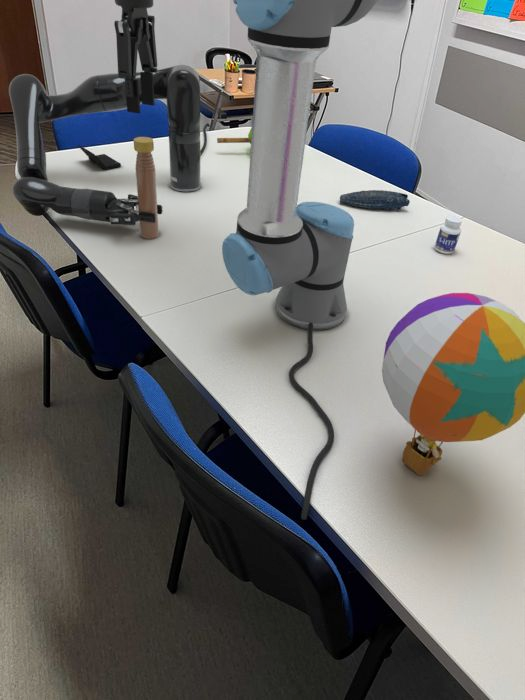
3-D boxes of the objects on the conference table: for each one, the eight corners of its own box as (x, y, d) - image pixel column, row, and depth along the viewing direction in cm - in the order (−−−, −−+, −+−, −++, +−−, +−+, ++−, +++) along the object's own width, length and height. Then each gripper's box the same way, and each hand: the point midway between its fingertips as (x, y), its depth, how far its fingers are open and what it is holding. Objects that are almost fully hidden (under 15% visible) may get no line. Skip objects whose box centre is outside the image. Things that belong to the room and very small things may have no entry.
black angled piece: (125, 159, 170) (105, 137, 162) (114, 177, 169) (93, 156, 161) (104, 155, 177) (83, 134, 168) (93, 172, 175) (71, 152, 167)
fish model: (408, 214, 157) (412, 198, 153) (339, 207, 158) (341, 191, 154) (406, 206, 162) (410, 190, 159) (339, 199, 163) (341, 183, 160)
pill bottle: (433, 251, 139) (442, 220, 133) (435, 243, 143) (444, 213, 137) (453, 256, 138) (464, 225, 132) (454, 247, 142) (465, 217, 136)
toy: (329, 455, 81) (367, 293, 62) (405, 402, 92) (457, 251, 73) (434, 545, 70) (518, 382, 52) (506, 474, 81) (598, 317, 62)
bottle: (155, 229, 137) (149, 137, 123) (161, 237, 134) (156, 143, 119) (138, 232, 135) (130, 139, 121) (144, 240, 132) (136, 145, 118)
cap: (150, 145, 124) (149, 135, 122) (156, 151, 121) (156, 141, 119) (131, 147, 122) (130, 137, 120) (137, 153, 119) (137, 143, 117)
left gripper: (106, 207, 140) (167, 216, 139) (84, 230, 129) (150, 240, 127) (103, 180, 135) (166, 189, 134) (79, 201, 124) (148, 211, 123)
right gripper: (127, -13, 93) (137, 121, 107) (170, -19, 108) (174, 100, 122) (89, -18, 94) (104, 116, 109) (137, -22, 109) (144, 96, 124)
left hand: (158, 214), depth 131 cm, fingers closed on bottle, 4 cm apart
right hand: (141, 108), depth 116 cm, fingers open, 7 cm apart
